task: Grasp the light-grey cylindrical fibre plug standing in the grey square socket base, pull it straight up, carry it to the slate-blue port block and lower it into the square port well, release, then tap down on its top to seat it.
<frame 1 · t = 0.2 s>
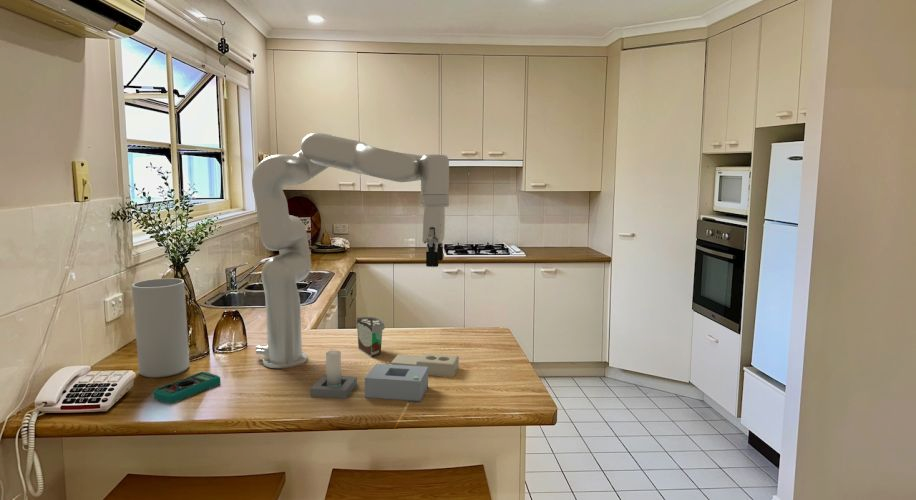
hand: (434, 263, 152), 31 cm above the table, tool pointing down, fingers open, 9 cm apart
grey square socket base: (334, 391, 141), on the table
cylinder vase: (165, 370, 155), on the table
digital multimeter: (188, 392, 141), on the table
port block: (397, 392, 141), on the table
electrical outlet: (425, 371, 157), on the table
food container: (373, 352, 172), on the table
plug: (334, 390, 141), resting on grey square socket base
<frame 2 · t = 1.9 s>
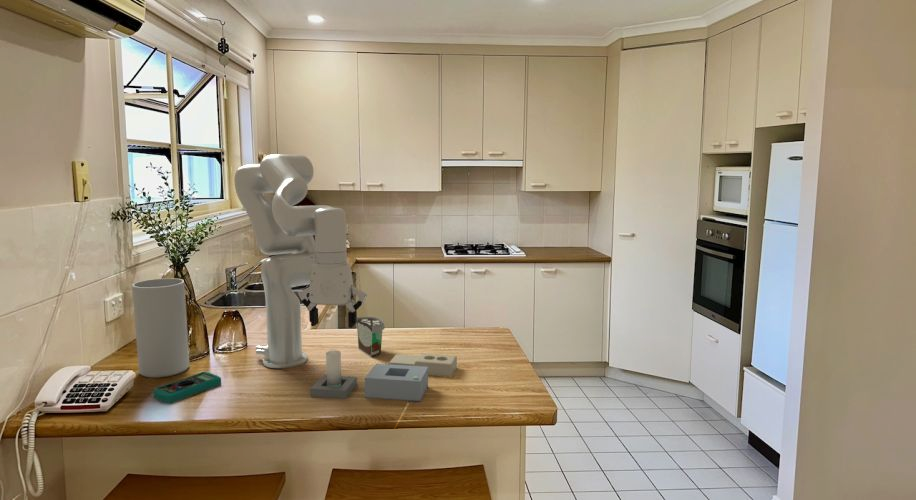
hand: (333, 325, 138), 18 cm above the table, tool pointing down, fingers open, 9 cm apart
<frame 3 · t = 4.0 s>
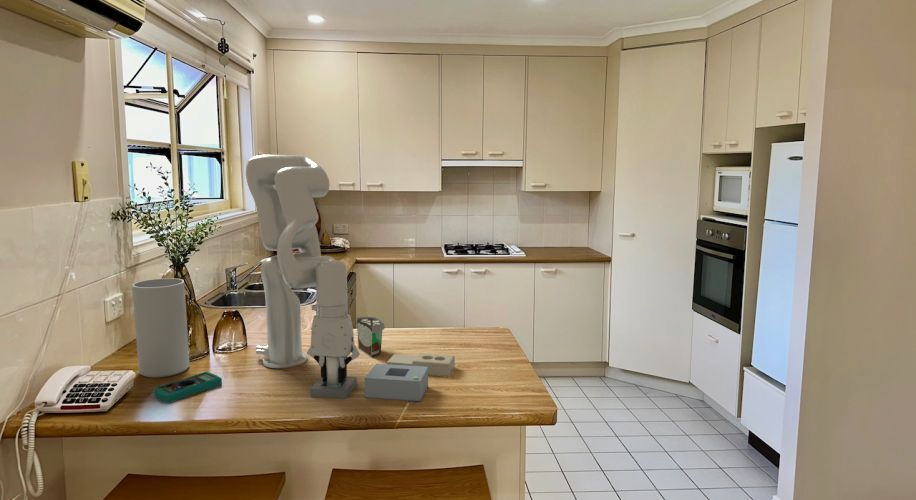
hand: (334, 379, 140), 3 cm above the table, tool pointing down, fingers closed on plug, 3 cm apart
plug: (334, 390, 141), resting on grey square socket base, touching gripper
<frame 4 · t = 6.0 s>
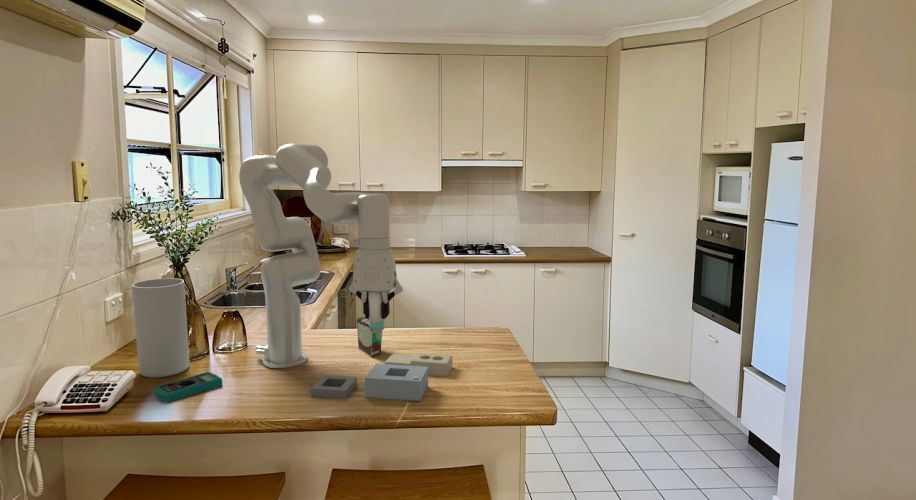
hand: (376, 316, 138), 20 cm above the table, tool pointing down, fingers closed on plug, 3 cm apart
plug: (376, 327, 138), point 17 cm above the table, touching gripper
when the fingers open (6 cm above the table, at t = 8.3 s): plug drops 3 cm, resting on port block.
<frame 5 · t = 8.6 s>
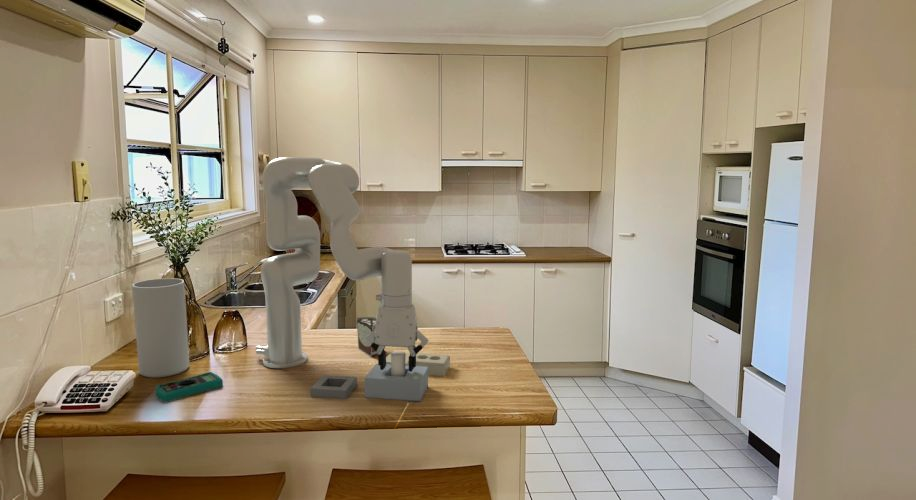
hand: (397, 368, 140), 7 cm above the table, tool pointing down, fingers open, 6 cm apart
plug: (397, 390, 141), point 1 cm above the table, touching port block
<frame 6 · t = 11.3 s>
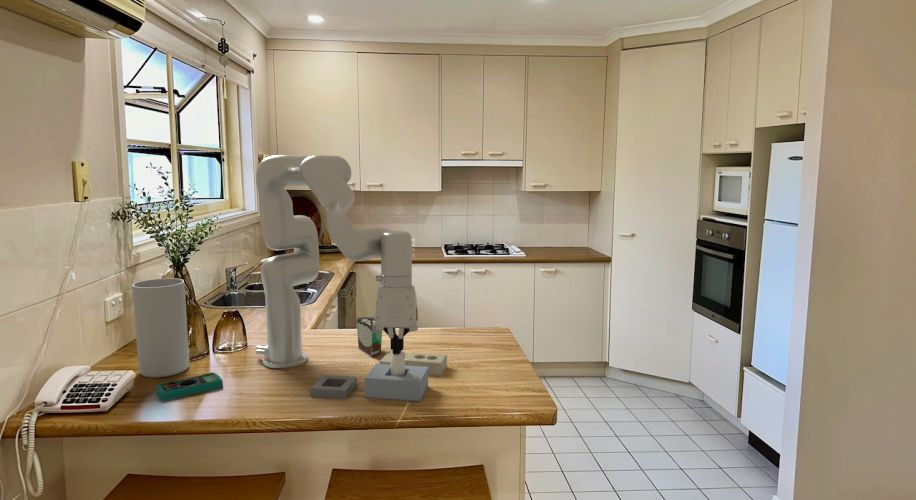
hand: (397, 352, 139), 11 cm above the table, tool pointing down, fingers closed
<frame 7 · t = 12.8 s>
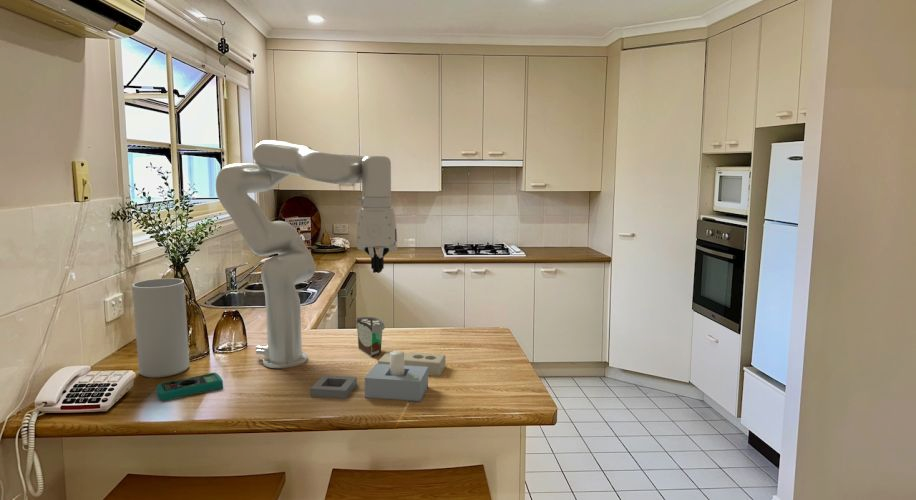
hand: (377, 271, 148), 29 cm above the table, tool pointing down, fingers closed
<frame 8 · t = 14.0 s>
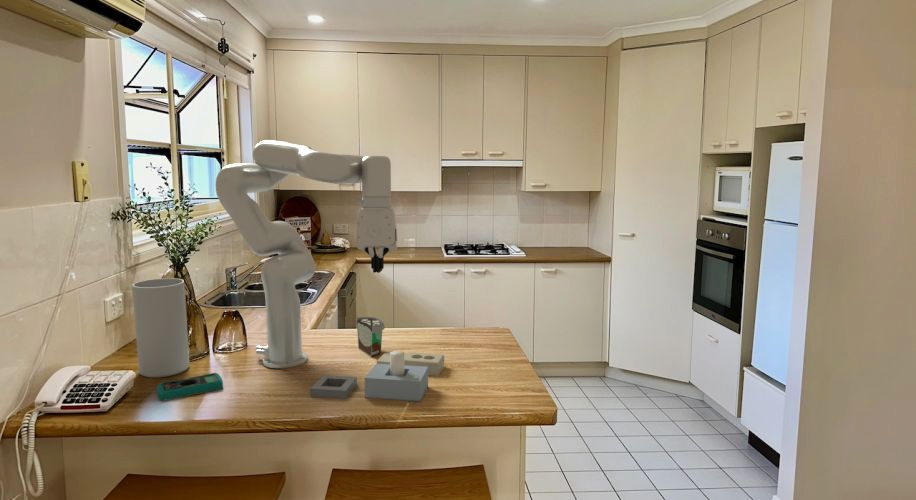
hand: (377, 271, 148), 29 cm above the table, tool pointing down, fingers closed
at the end: plug 0.1 cm off-centre on the port block, point 0.5 cm above the port block's base; plug tilted 1°; the gripper is holding nothing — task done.
